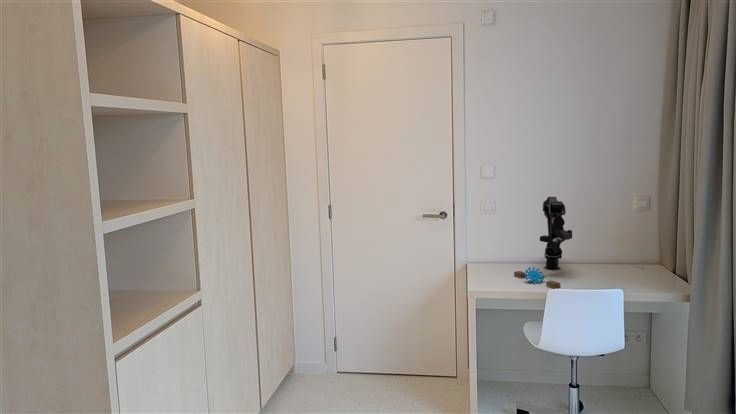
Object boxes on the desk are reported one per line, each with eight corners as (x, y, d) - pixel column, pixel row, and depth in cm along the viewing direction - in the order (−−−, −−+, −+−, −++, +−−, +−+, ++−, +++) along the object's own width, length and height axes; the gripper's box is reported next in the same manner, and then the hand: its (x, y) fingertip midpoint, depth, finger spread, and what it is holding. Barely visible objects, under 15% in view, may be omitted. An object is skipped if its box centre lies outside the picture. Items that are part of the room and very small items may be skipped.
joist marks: (519, 275, 299) (519, 270, 299) (560, 287, 274) (560, 282, 273) (514, 276, 298) (514, 271, 297) (554, 289, 272) (554, 284, 272)
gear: (525, 281, 281) (524, 264, 287) (522, 287, 286) (522, 270, 292) (546, 284, 280) (545, 267, 286) (543, 289, 285) (543, 273, 291)
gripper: (554, 228, 284) (554, 257, 286) (580, 224, 292) (579, 253, 294) (539, 225, 293) (538, 254, 296) (564, 222, 302) (563, 249, 304)
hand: (555, 252), depth 297 cm, fingers closed
